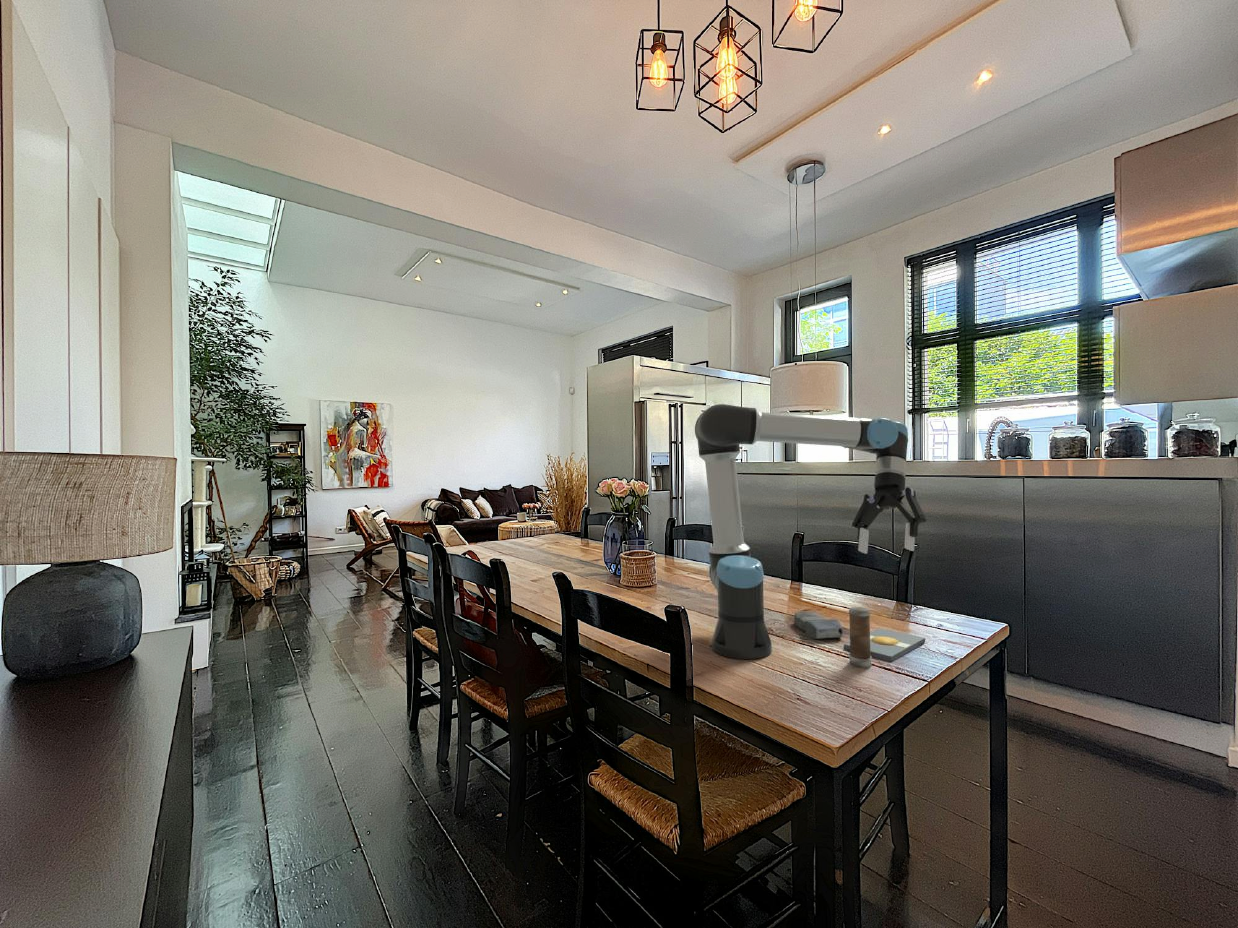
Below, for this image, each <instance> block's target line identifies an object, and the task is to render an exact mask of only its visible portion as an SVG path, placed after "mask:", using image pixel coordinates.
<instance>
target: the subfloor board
mask: <svg viewBox="0 0 1238 928" xmlns="http://www.w3.org/2000/svg"><path fill="white" fill-rule="evenodd" d="M924 642H925V643H926V638H925V637H923V636H917V635H913V634H908V633H903V632H900V631H896V630H895V631H894V630H891V629H888V628H882V627H881V628H880V627H879V628H876V629H873V630H872V631H870V656H871V657H874V658H877V659H881V660H885V661H888V662H893V661H895V660H896V659H898V658H901V657H902V656H905V655H906V654H908V653H909V652H912V651H913V650H915V649H916V648H919V645H920V646H922V645H924V644H925V643H924ZM923 643H924V644H923ZM921 644H922V645H921ZM843 650H847V651H850V641H848V642H846V643H843Z"/></svg>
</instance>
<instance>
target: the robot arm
mask: <svg viewBox="0 0 1238 928" xmlns="http://www.w3.org/2000/svg"><path fill="white" fill-rule="evenodd" d="M694 435H695V437H696V441H697V446H698V447H697V448H698V456H699V458H701V460H703V462H704V464H705V472H706V484H707V493H708V503H709V513H710V521H711V531H712V541H713V543H712V546H711V547H709V548H708V549H709V550H708V554H709V564H710V565H709V571H708V573H709V579H710V581H711V583H712V585H713V586H714V587H715V589H716V591H717V611H718V613H717V614H718V617H717V621H716V625H715V628H714V632H713V634H712V638H711V643H712V644H711V649H712V650H713V652H714V653H716V654H718V655H719V656H722V655H723V657H727V658H731V659H737V660H738V659H739V660H754V659H755V660H756V659H762V658H766V657H767V656H769V655H771V653H772V651H773V650H772V648H773V647H772V646H773V645H772V639H771V637H770V634H769V631H768V628H767V626H766V623H765V614H764V613H765V612H764V611H765V610H764V609H765V605H764V603H765V602H764V577H765V574H764V570H763V568H764V567H763V564H762V562H761V561H760V560H758V559H757V558H755V557H752V556H751V555H752V553H751V547H750V546H749V545H748V544H747V543H746V542H745V539H744V530H743V521H742V512H741V510H742V509H741V502H740V490H739V482H738V480H739V479H738V471H737V470H738V469H737V461H736V458H737V457H738V456H739V454H740V453H741V447H740V446H741V445H754V444H756V443H757V442H767V443H784V444H799V445H820V446H832V447H833V446H834V447H843V448H844V449H851V450H856V451H860V452H865V453H868V454H873V455H876V457H875V458H876V459H875V460H876V461H875V470H874V474H875V475H874V484H873V487H874V491H875V492H874V494H873V495H872V494H871V495H869V494H867V493H866V494H864V496H863V502H862V504H861V505H860V507H859V510H858V511H857V513H856V516H855V518H854V519H853V522H852V524H851V526H852V527H854V528H856V529H857V537H856V538H857V541H858V549H857V551H858V552H860V553H862V554H868V551H869V550H868V549H869V538H870V537H869V536H870V530H868V528H869V527H870V526H871V524H872V523H873V522H874V521H875V519H876V518H877V517H878V515H879V514H880V513H882V512H883V511H887V510H890V509H891V510H894V509H898V511H899V512H900V513H901V514H902V515H903V516H904V518H905V519H906V520H907V522H906V523H905V529H904V530H905V531H904V549H905V550H908V551H911V552H914V551H915V541H916V540H915V538H917V537H918V534H919V533H918V530H919V525H920V524H921V523H926V521H927V517H926V515H925V513H924V512H923V510H922V507H921V505H920V503H919V501H918V500H917V497H916V490H914V489H913V488H910V487H908V486H907V487H906V471H907V454H908V442H909V436H908V435H909V432H908V427H907V426H906V424H904V423H902V422H900V421H893V420H891V419H889V418H883V417H876V418H861V417H859V418H857V417H845V416H844V417H843V416H830V415H827V416H826V415H811V414H810V415H809V414H797V413H796V414H795V413H794V414H793V413H777V412H763V411H762V412H761V411H759V410H758V408H756V407H745V406H738V405H731V404H725V403H723V404H722V403H719V404H714V405H712V406H710V407H708V408H707V409H706V410H704V411H703V412H701V413H700V414H699V416H698V418H697V419H696V421H695V424H694ZM904 498H906V501H907V503H908V505H909V507H910V510H911V511H912V512H911V511H910V510H909V508H908V507H906V504H905V503H904V502H903V499H904Z"/></svg>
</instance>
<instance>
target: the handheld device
mask: <svg viewBox="0 0 1238 928" xmlns="http://www.w3.org/2000/svg"><path fill="white" fill-rule="evenodd" d="M793 618H794V625H795V626H796V627H797V628H799V629H801V630H802V631H805V637H807V638H808V639H812V640H816V639H817V640H818V639H836V638H837V639H839V638H842V637H843V633H844V630H843V626H842V624H841V622H840V620H839V619H835V618H831V619H828V618H826V617H824V616H823V615H820V614H818V613H815V612H813V611H796V612H795V613H794V616H793Z"/></svg>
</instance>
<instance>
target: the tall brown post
mask: <svg viewBox="0 0 1238 928" xmlns="http://www.w3.org/2000/svg"><path fill="white" fill-rule="evenodd" d="M848 614H849V642H850V650H849V652H850V653H849V655H848V656H849V657H848V658H849V659H848V660H849V664H850V666H852V667H856V668H859V669H860V668H861V669H868V668H871V667H872V665H873V664H872V656H870V632H871V626H870V625H871V623H870V622H871V618H870V617H871V610H870V609H869V608H865V607H861V606H857V607H856V606H852V607H849V608H848Z"/></svg>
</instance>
